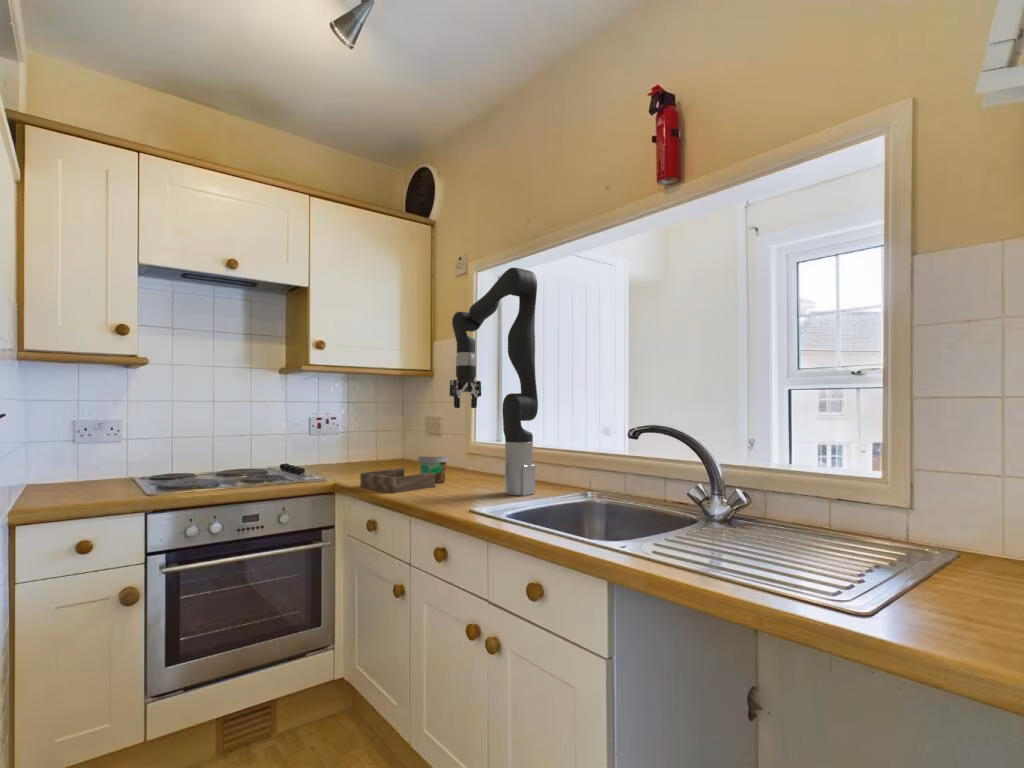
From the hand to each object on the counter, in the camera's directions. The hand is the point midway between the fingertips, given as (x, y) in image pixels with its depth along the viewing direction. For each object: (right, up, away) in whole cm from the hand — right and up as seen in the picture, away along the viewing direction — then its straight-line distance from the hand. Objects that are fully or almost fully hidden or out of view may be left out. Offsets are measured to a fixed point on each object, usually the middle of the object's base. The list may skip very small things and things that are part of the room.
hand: (465, 408), depth 203 cm
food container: (-14, -28, 0) cm, 31 cm away
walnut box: (-23, -28, -10) cm, 37 cm away
